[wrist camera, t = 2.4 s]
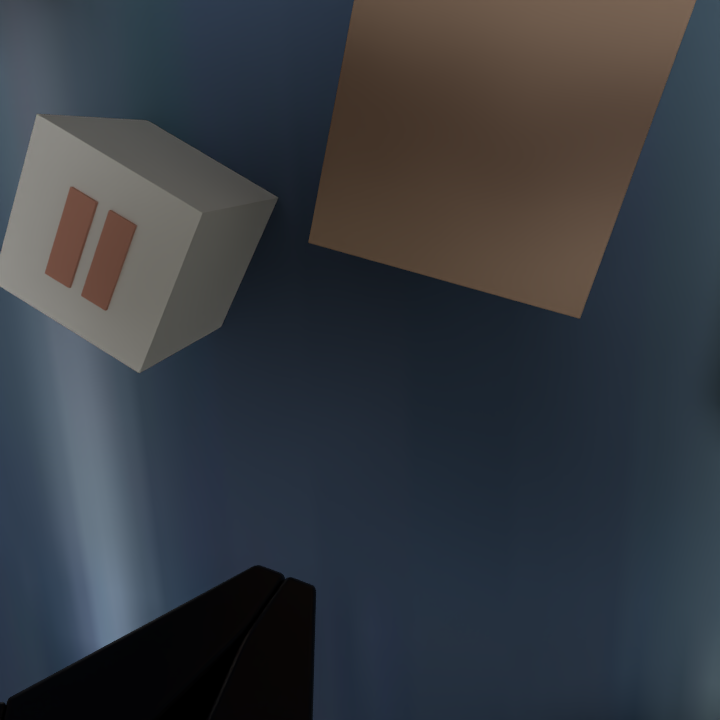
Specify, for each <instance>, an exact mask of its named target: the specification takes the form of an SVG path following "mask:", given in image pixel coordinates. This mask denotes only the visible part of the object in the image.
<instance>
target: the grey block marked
mask: <svg viewBox="0 0 720 720" xmlns="http://www.w3.org/2000/svg"><path fill="white" fill-rule="evenodd" d="M277 200H278V197H277V196H275V195H273V194H271V193H270V192H268V191H266V190H265V189H263V188H261V187H260V186H258V185H256V184H255V183H253V182H251V181H249V180H248V179H246V178H244V177H243V176H241V175H239V174H238V173H236V172H234V171H233V170H231V169H229V168H227V167H226V166H224V165H222V164H221V163H219V162H217V161H216V160H214V159H212V158H210V157H209V156H207V155H205V154H204V153H202V152H200V151H199V150H197V149H195V148H194V147H192V146H190V145H188V144H187V143H185V142H183V141H182V140H180V139H178V138H177V137H175V136H173V135H171V134H170V133H168V132H166V131H165V130H163V129H161V128H160V127H158V126H156V125H155V124H153V123H151V122H149V121H148V120H133V119H116V118H99V117H82V116H65V115H48V114H37V115H36V119H35V123H34V127H33V131H32V135H31V138H30V142H29V146H28V150H27V154H26V158H25V161H24V165H23V169H22V173H21V177H20V181H19V185H18V188H17V192H16V196H15V200H14V204H13V208H12V211H11V215H10V219H9V223H8V227H7V231H6V234H5V238H4V242H3V246H2V250H1V254H0V287H2V288H4V289H5V290H7V291H8V292H10V293H12V294H13V295H15V296H16V297H18V298H20V299H21V300H23V301H24V302H26V303H28V304H29V305H31V306H32V307H34V308H36V309H37V310H39V311H40V312H42V313H44V314H45V315H47V316H48V317H50V318H52V319H53V320H55V321H56V322H58V323H60V324H61V325H63V326H64V327H66V328H68V329H69V330H71V331H72V332H74V333H76V334H77V335H79V336H80V337H82V338H84V339H85V340H87V341H88V342H90V343H92V344H93V345H95V346H96V347H98V348H100V349H101V350H103V351H104V352H106V353H108V354H109V355H111V356H112V357H114V358H116V359H117V360H119V361H120V362H122V363H124V364H125V365H127V366H128V367H130V368H132V369H133V370H135V371H136V372H138V373H141V372H143V371H144V370H146V369H148V368H150V367H151V366H153V365H155V364H157V363H158V362H160V361H162V360H164V359H165V358H167V357H169V356H171V355H173V354H174V353H176V352H178V351H180V350H181V349H183V348H185V347H187V346H188V345H190V344H192V343H194V342H195V341H197V340H199V339H201V338H203V337H204V336H206V335H208V334H210V333H211V332H213V331H215V330H217V329H218V328H220V327H221V326H222V324H223V322H224V319H225V317H226V315H227V313H228V310H229V308H230V306H231V304H232V301H233V299H234V297H235V295H236V292H237V290H238V288H239V286H240V283H241V281H242V279H243V277H244V274H245V272H246V270H247V268H248V265H249V263H250V261H251V258H252V256H253V254H254V252H255V249H256V247H257V245H258V243H259V240H260V238H261V236H262V234H263V231H264V229H265V227H266V225H267V222H268V220H269V218H270V216H271V213H272V211H273V209H274V207H275V204H276V202H277Z"/></svg>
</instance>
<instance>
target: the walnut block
mask: <svg viewBox="0 0 720 720" xmlns="http://www.w3.org/2000/svg"><path fill="white" fill-rule="evenodd" d="M695 2H696V0H354V4H353V9H352V14H351V20H350V25H349V30H348V35H347V41H346V46H345V51H344V57H343V62H342V67H341V72H340V78H339V83H338V88H337V94H336V99H335V104H334V109H333V115H332V120H331V125H330V131H329V136H328V141H327V146H326V152H325V157H324V162H323V168H322V173H321V178H320V184H319V189H318V194H317V199H316V205H315V210H314V215H313V221H312V226H311V231H310V236H309V242H308V243H311V244H315V245H318V246H322V247H325V248H329V249H333V250H336V251H340V252H343V253H347V254H350V255H354V256H358V257H361V258H365V259H368V260H372V261H376V262H379V263H383V264H386V265H390V266H393V267H397V268H401V269H404V270H408V271H411V272H415V273H418V274H422V275H426V276H429V277H433V278H436V279H440V280H443V281H447V282H451V283H454V284H458V285H461V286H465V287H468V288H472V289H476V290H479V291H483V292H486V293H490V294H493V295H497V296H501V297H504V298H508V299H511V300H515V301H518V302H522V303H526V304H529V305H533V306H536V307H540V308H544V309H547V310H551V311H554V312H558V313H561V314H565V315H569V316H572V317H576V318H579V319H580V317H581V314H582V311H583V309H584V306H585V303H586V301H587V298H588V295H589V292H590V290H591V287H592V284H593V281H594V279H595V276H596V273H597V270H598V268H599V265H600V262H601V259H602V257H603V254H604V251H605V249H606V246H607V243H608V240H609V238H610V235H611V232H612V229H613V227H614V224H615V221H616V218H617V216H618V213H619V210H620V207H621V205H622V202H623V199H624V196H625V194H626V191H627V188H628V186H629V183H630V180H631V177H632V175H633V172H634V169H635V166H636V164H637V161H638V158H639V155H640V153H641V150H642V147H643V144H644V142H645V139H646V136H647V134H648V131H649V128H650V125H651V123H652V120H653V117H654V114H655V112H656V109H657V106H658V103H659V101H660V98H661V95H662V92H663V90H664V87H665V84H666V82H667V79H668V76H669V73H670V71H671V68H672V65H673V62H674V60H675V57H676V54H677V51H678V49H679V46H680V43H681V40H682V38H683V35H684V32H685V30H686V27H687V24H688V21H689V19H690V16H691V13H692V10H693V8H694V5H695Z"/></svg>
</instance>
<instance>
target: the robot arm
mask: <svg viewBox="0 0 720 720" xmlns="http://www.w3.org/2000/svg"><path fill="white" fill-rule="evenodd" d="M315 612H316V589H315V587H314V586H313V585H311V584H308V583H306V582H303V581H300V580H298V579H295V578H292V577H289V578H286V579H285V577H284V575H283V574H281V573H279V572H277V571H274V570H271V569H269V568H266V567H263V566H260V565H257V566H253V567H251V568H249V569H247V570H246V571H244V572H242V573H240V574H238V575H236V576H234V577H233V578H231V579H229V580H227V581H225V582H223V583H221V584H220V585H218V586H216V587H214V588H212V589H210V590H208V591H207V592H205V593H203V594H201V595H199V596H197V597H195V598H194V599H192V600H190V601H188V602H186V603H184V604H182V605H181V606H179V607H177V608H175V609H173V610H171V611H169V612H168V613H166V614H164V615H162V616H160V617H158V618H156V619H155V620H153V621H151V622H149V623H147V624H145V625H143V626H142V627H140V628H138V629H136V630H134V631H132V632H130V633H129V634H127V635H125V636H123V637H121V638H119V639H117V640H116V641H114V642H112V643H110V644H108V645H106V646H104V647H103V648H101V649H99V650H97V651H95V652H93V653H91V654H90V655H88V656H86V657H84V658H82V659H80V660H78V661H77V662H75V663H73V664H71V665H69V666H67V667H65V668H64V669H62V670H60V671H58V672H56V673H54V674H52V675H51V676H49V677H47V678H45V679H43V680H41V681H39V682H38V683H36V684H34V685H32V686H30V687H28V688H26V689H25V690H23V691H21V692H19V693H17V694H15V695H13V696H12V697H10V698H9V699H8V701H7V704H5V703H4V702H0V720H313V686H314V649H315Z"/></svg>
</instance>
